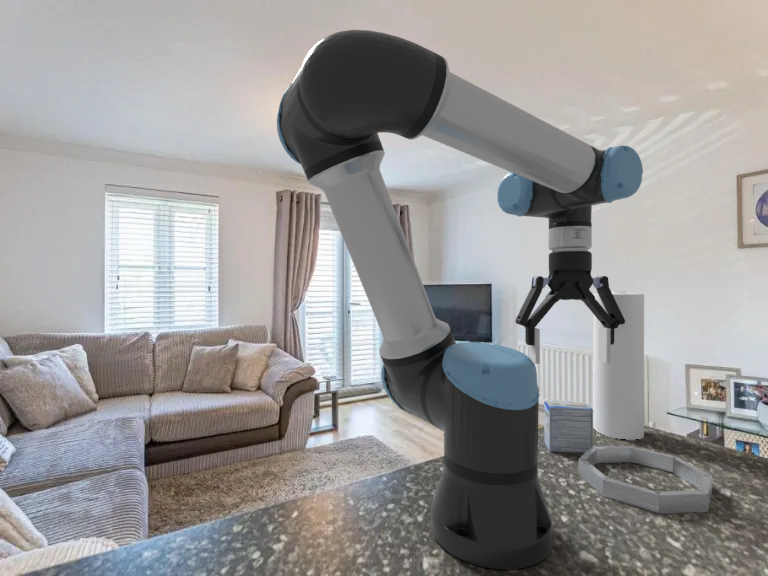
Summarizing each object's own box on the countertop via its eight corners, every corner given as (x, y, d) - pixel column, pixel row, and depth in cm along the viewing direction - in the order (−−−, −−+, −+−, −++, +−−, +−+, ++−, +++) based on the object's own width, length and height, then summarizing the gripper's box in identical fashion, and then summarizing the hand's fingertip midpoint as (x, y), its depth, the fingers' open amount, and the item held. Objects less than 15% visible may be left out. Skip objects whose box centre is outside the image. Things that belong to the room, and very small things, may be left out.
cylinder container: (604, 421, 95) (604, 290, 94) (650, 432, 88) (651, 291, 87) (585, 431, 89) (585, 291, 88) (633, 443, 82) (633, 292, 81)
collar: (623, 514, 57) (624, 496, 57) (563, 461, 74) (563, 447, 74) (742, 510, 58) (742, 492, 58) (655, 458, 75) (655, 445, 75)
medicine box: (585, 445, 81) (585, 401, 81) (593, 454, 77) (593, 408, 77) (543, 443, 82) (543, 399, 82) (549, 452, 78) (549, 406, 78)
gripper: (512, 249, 75) (512, 366, 75) (646, 249, 76) (646, 365, 76) (499, 252, 82) (499, 359, 82) (621, 252, 83) (621, 357, 83)
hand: (569, 362), depth 79 cm, fingers open, 13 cm apart
